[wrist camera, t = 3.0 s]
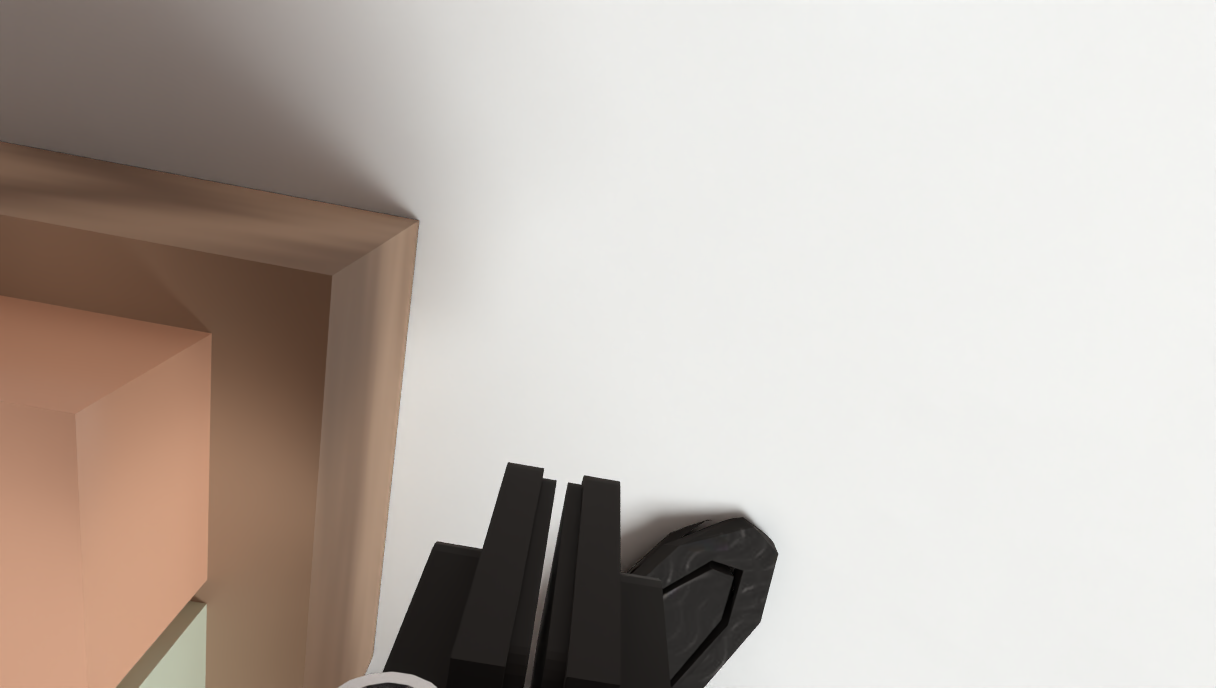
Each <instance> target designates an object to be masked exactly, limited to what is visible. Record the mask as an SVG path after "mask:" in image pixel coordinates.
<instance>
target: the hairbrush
mask: <svg viewBox="0 0 1216 688" xmlns="http://www.w3.org/2000/svg"><path fill="white" fill-rule="evenodd" d="M706 521H710V520H706ZM703 522H704V521H703ZM703 522H700V523H697V524H694V525H691V526H687V527H685V528H682V529H680V530H677V531H675V532H672V533H670V534H669V535H668V536H667V537H666V538H665V539H663V540H662V541H661V542H660V543H659V544H658V545H657V546H656V547H655V548H654V549H653V550H651V551H650V552H649V553H648V554H647V555H646V556H645V557H644V558H643V559H642V560H641V561H640V562H638V563H637V564H636V565H635V566H634V567H633V568H632V569H631V570H630V571H629V572H628V573H629V574H635V575H641V576H647V577H653V578H659V579H660V580H661V584H662V591H663V603H664V615H665V626H666V638H667V650H668V662H669V673H670V685H671V688H704V687H705V686H706V685H707V683H708V682H709V681H710V680H711V679H712V678H713V676H714V675H715V674H716V673H717V672H718V671H719V669H720V668H721V667H722V666H723V665H724V664H725V663H726V661H727V660H728V659H729V658H730V657H731V656H732V654H733V653H734V652H735V651H736V650H737V649H738V648H739V646H740V645H741V644H742V643H743V642H744V641H745V639H746V638H747V637H748V636H749V635H750V634H751V632H752V631H753V630H754V629H755V628H756V627H757V626H758V624H759V623H760V621H761V618H762V614H763V610H764V606H765V602H766V598H767V595H768V591H769V587H770V583H771V579H772V575H773V572H774V568H775V564H776V560H777V556H778V552H777V550H776V548H775V545H774V543H773V541H772V540H771V539H770V538H769V537H768V536H767V535H766V534H764V533H763V532H762V531H760V530H759V529H758V528H756V527H755V526H754V525H752V524H751V523H750V522H748V521H747V520H746V519H744V518H743V517H742V518H733V519H729V520H726V521H723V522H720V523H718V524H715V525H712V526H710V527H707V528H705V529H702V530H700V531H697V532H695V533H692V534H689V535H687V536H684V535H685V534H687V533H688V532H690V531H691V530H693V529H694V528H695V527H697V526H698V525H700V524H701V523H703ZM682 536H684V537H682ZM681 537H682V538H681ZM729 566H731V567H734V568H735V571H734V573H733V575H732V573H731V570H730V568H729ZM733 587H734V593H733V592H732V591H733Z"/></svg>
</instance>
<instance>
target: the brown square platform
mask: <svg viewBox="0 0 1216 688" xmlns="http://www.w3.org/2000/svg"><path fill="white" fill-rule="evenodd" d="M418 228H419V220H414V219H409V218H404V217H399V216H393V215H388V214H383V213H377V212H372V211H367V210H361V209H356V208H351V207H345V206H340V205H335V204H330V203H324V202H319V201H314V200H308V199H303V198H298V197H292V196H287V195H282V194H277V193H271V192H266V191H261V190H255V189H250V188H245V187H239V186H234V185H229V184H223V183H218V182H213V181H208V180H202V179H197V178H192V177H186V176H181V175H176V174H170V173H165V172H160V171H155V170H149V169H144V168H139V167H133V166H128V165H123V164H117V163H112V162H107V161H101V160H96V159H91V158H86V157H80V156H75V155H70V154H64V153H59V152H54V151H48V150H43V149H38V148H33V147H27V146H22V145H17V144H11V143H6V142H1V141H0V295H2V296H7V297H13V298H18V299H24V300H29V301H35V302H40V303H46V304H51V305H57V306H63V307H68V308H74V309H79V310H85V311H90V312H96V313H101V314H107V315H113V316H118V317H124V318H129V319H135V320H140V321H146V322H151V323H157V324H163V325H168V326H174V327H179V328H185V329H190V330H196V331H201V332H207V333H212V346H211V401H210V456H209V511H208V566H207V581H206V582H205V583H204V584H203V585H202V586H201V588H200V589H199V590H198V591H197V592H196V593H195V595H194V596H193V597H192V598H191V599H190V601H194V602H200V603H206V604H207V621H206V676H205V688H338V687H339V686H341V685H343V684H344V683H346V682H348V681H349V680H352V679H355V678H358V677H361V676H364V675H365V673H366V671H367V668H368V666H369V664H370V662H371V659H372V657H373V650H374V641H375V632H376V622H377V613H378V604H379V594H380V585H381V575H382V566H383V557H384V547H385V538H386V528H387V519H388V510H389V500H390V491H391V481H392V472H393V463H394V453H395V444H396V434H397V425H398V416H399V406H400V397H401V387H402V378H403V369H404V359H405V350H406V340H407V331H408V322H409V312H410V303H411V294H412V284H413V275H414V265H415V256H416V247H417V237H418Z"/></svg>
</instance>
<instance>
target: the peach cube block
mask: <svg viewBox="0 0 1216 688" xmlns="http://www.w3.org/2000/svg"><path fill="white" fill-rule="evenodd" d="M211 346H212V333H207V332H201V331H196V330H190V329H185V328H179V327H174V326H168V325H163V324H157V323H151V322H146V321H140V320H135V319H129V318H124V317H118V316H113V315H107V314H101V313H96V312H90V311H85V310H79V309H74V308H68V307H63V306H57V305H51V304H46V303H40V302H35V301H29V300H24V299H18V298H13V297H7V296H2V295H0V688H116V686H117V685H118V684H119V683H120V682H121V680H122V679H123V678H124V677H125V676H126V675H127V673H128V672H129V671H130V670H131V669H132V668H133V666H134V665H135V664H136V663H137V662H138V660H139V659H140V658H141V657H142V656H143V655H144V653H145V652H146V651H147V650H148V649H149V648H150V646H151V645H152V644H153V643H154V642H155V641H156V639H157V638H158V637H159V636H160V635H161V633H162V632H163V631H164V630H165V629H166V628H167V626H168V625H169V624H170V623H171V622H172V621H173V619H174V618H175V617H176V616H177V615H178V613H179V612H180V611H181V610H182V609H183V608H184V606H185V605H186V604H187V603H188V602H189V601H190V599H191V598H192V597H193V596H194V595H195V593H196V592H197V591H198V590H199V589H200V588H201V586H202V585H203V584H204V583H205V582H206V581H207V566H208V511H209V456H210V401H211Z"/></svg>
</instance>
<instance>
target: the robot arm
mask: <svg viewBox="0 0 1216 688" xmlns="http://www.w3.org/2000/svg"><path fill="white" fill-rule="evenodd" d="M543 472H544V468H538V467H533V466H527V465H521V464H515V463H510V462H508V464H507V467H506V470H505V474H504V477H503V481H502V484H501V487H500V491H499V494H498V498H497V501H496V504H495V508H494V511H493V515H492V518H491V521H490V525H489V528H488V532H487V535H486V538H485V542H484V545H483V549H479V548H473V547H467V546H461V545H455V544H449V543H443V542H436V543H435V544H434V546H433V548H432V551H431V553H430V556H429V558H428V561H427V563H426V566H425V568H424V571H423V573H422V576H421V578H420V581H419V583H418V585H417V588H416V590H415V593H414V595H413V598H412V600H411V603H410V605H409V608H408V610H407V613H406V615H405V618H404V620H403V623H402V625H401V628H400V630H399V633H398V635H397V638H396V640H395V643H394V645H393V648H392V650H391V653H390V655H389V658H388V660H387V663H386V665H385V668H384V670H383V673H371V674H368V675H364V676H361V677H358V678H355V679H352V680H349V681H348V682H346V683H344V684H343V685H341V686H339V687H338V688H523V687H524V682H525V676H526V670H527V664H528V659H529V652H530V646H531V640H532V634H533V627H534V621H535V615H536V608H537V602H538V596H539V589H540V583H541V577H542V570H543V564H544V558H545V551H546V545H547V539H548V532H549V526H550V520H551V513H552V507H553V501H554V494H555V488H556V480H551V479H545V478H543ZM531 688H671V685H670V673H669V662H668V650H667V638H666V626H665V615H664V603H663V591H662V584H661V580H660V579H659V578H653V577H647V576H641V575H635V574H629V573H623V572H620V482H619V481H614V480H608V479H602V478H596V477H591V476H585V475H584V477H583V481H582V485H580V484H574V483H568V485H567V490H566V495H565V500H564V506H563V511H562V516H561V521H560V526H559V532H558V537H557V542H556V547H555V552H554V558H553V563H552V568H551V573H550V578H549V584H548V589H547V594H546V599H545V604H544V610H543V615H542V620H541V625H540V631H539V636H538V642H537V648H536V654H535V661H534V667H533V674H532V681H531Z"/></svg>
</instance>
